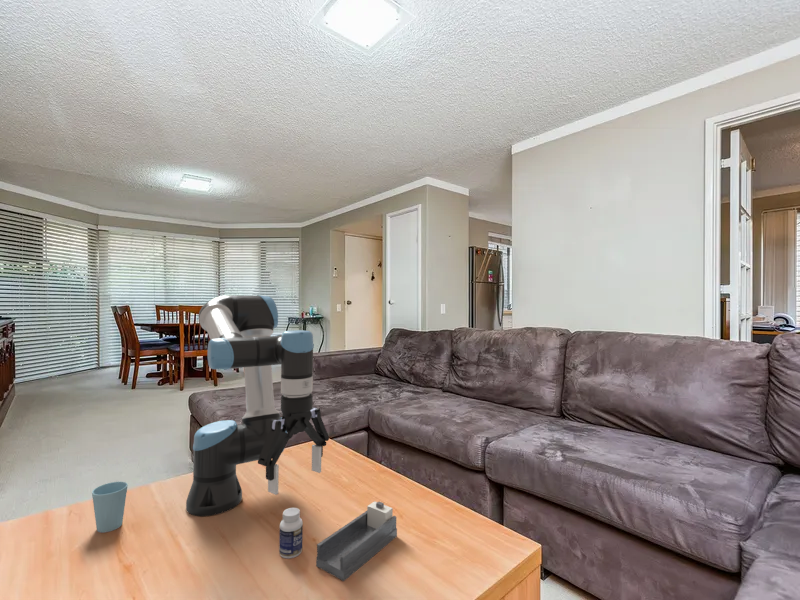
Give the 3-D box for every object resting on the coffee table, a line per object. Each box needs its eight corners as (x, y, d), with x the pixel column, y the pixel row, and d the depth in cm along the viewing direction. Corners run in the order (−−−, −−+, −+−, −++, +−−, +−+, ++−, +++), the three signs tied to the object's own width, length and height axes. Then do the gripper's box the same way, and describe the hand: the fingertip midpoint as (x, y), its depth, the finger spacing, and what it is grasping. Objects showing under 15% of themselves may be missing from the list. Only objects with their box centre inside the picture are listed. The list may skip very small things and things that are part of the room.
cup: (133, 517, 109) (133, 480, 109) (118, 533, 101) (118, 493, 101) (102, 520, 108) (102, 482, 108) (85, 536, 100) (85, 496, 100)
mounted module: (367, 525, 102) (367, 502, 102) (374, 520, 105) (374, 497, 105) (385, 532, 99) (385, 509, 99) (392, 527, 101) (392, 504, 101)
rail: (316, 566, 89) (316, 544, 89) (371, 525, 106) (371, 506, 106) (343, 581, 84) (343, 558, 84) (396, 536, 101) (396, 516, 101)
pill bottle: (296, 560, 91) (296, 518, 91) (275, 557, 92) (275, 516, 92) (306, 546, 96) (306, 507, 96) (286, 543, 98) (286, 504, 98)
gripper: (263, 407, 83) (262, 508, 83) (342, 386, 103) (342, 467, 103) (242, 402, 87) (241, 498, 87) (322, 383, 108) (321, 460, 107)
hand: (296, 481), depth 95 cm, fingers open, 13 cm apart
